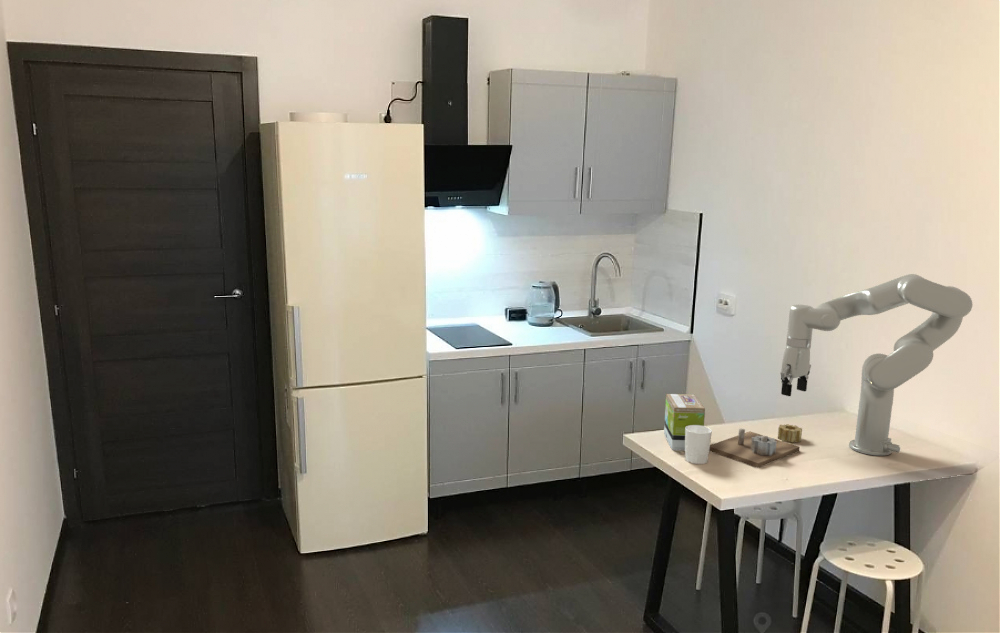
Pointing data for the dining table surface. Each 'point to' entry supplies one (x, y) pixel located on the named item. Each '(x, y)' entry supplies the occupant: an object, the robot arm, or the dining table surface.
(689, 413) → the tea box
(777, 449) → the gear board
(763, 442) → the grey gear
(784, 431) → the brass gear
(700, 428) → the white cup
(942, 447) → the dining table surface
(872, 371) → the robot arm
